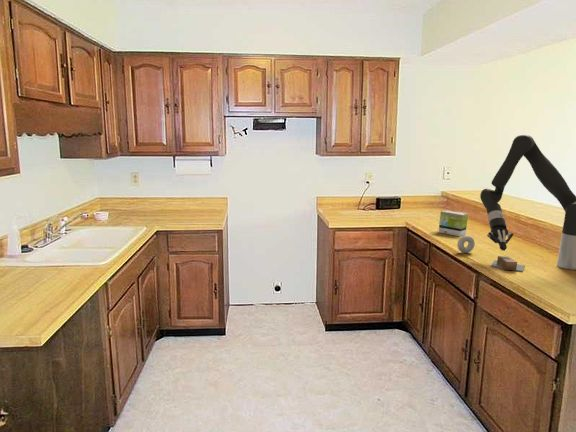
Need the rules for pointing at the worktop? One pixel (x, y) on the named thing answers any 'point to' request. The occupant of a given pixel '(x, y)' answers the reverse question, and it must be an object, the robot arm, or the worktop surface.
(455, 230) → the tea box
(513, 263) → the walnut block
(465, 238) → the donut
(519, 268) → the rubber mat
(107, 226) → the worktop surface
